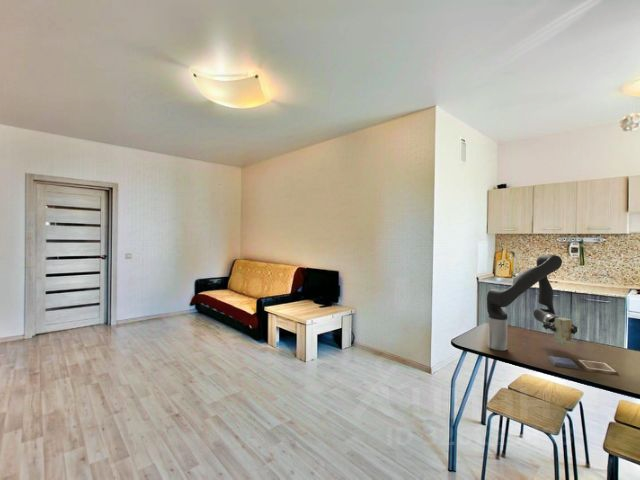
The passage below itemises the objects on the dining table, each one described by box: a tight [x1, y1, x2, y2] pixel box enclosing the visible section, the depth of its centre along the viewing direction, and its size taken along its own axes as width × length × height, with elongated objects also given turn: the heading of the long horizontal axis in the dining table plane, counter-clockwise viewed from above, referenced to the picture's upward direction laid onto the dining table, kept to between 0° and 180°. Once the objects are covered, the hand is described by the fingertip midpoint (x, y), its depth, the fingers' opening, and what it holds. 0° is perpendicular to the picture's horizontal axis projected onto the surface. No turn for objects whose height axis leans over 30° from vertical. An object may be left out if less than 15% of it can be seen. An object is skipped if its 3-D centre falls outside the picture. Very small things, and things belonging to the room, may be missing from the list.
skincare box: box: [553, 317, 573, 345], centre depth 156 cm, size 6×4×12 cm
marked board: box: [575, 358, 619, 376], centre depth 151 cm, size 12×12×1 cm
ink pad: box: [547, 355, 580, 370], centre depth 156 cm, size 10×10×2 cm
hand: (564, 330), depth 154 cm, fingers closed on skincare box, 7 cm apart
